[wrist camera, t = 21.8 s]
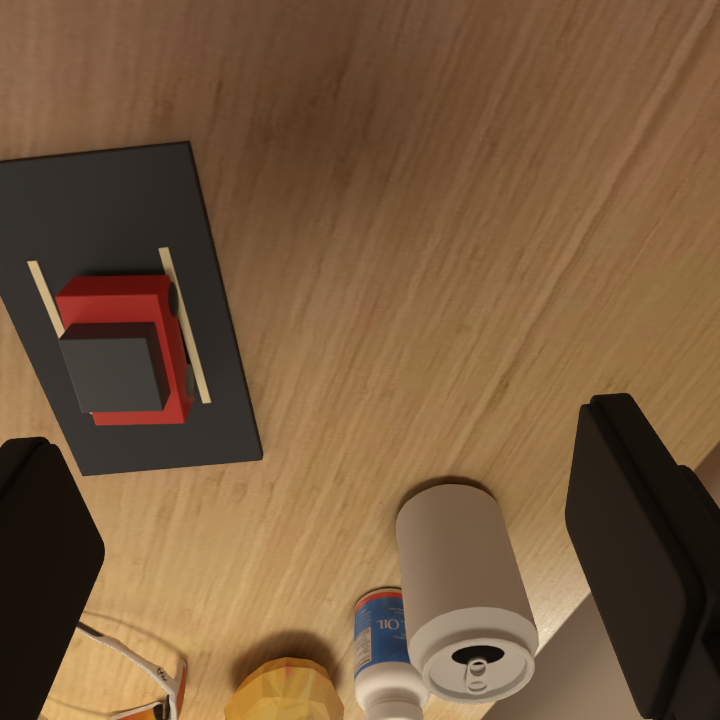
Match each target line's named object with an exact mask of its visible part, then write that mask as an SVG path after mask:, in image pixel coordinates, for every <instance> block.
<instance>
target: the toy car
mask: <svg viewBox="0 0 720 720" xmlns="http://www.w3.org/2000/svg"><path fill="white" fill-rule="evenodd" d="M55 299H56V302H57V305H58V308H59V311H60V314H61V318H62V321H63V324H64V327H65V330H66V331H65V332H64V333H63V334H62V336H61V337H60V338H59V340H58V341H59V344H60V347H61V350H62V353H63V356H64V359H65V362H66V365H67V368H68V371H69V374H70V377H71V380H72V383H73V387H74V390H75V393H76V396H77V399H78V402H79V405H80V408H81V411H82V413H92V415H93V418H94V421H95V424H96V425H132V424H177V423H185V421H186V418H187V416H188V413H189V410H190V408H191V405H192V402H193V400H194V396H193V390H194V373H193V369H192V366H191V365H190V364H187V362H186V357H185V352H184V347H183V342H182V337H181V332H180V327H179V322H178V317H177V313H178V306H179V300H178V292H177V288H176V285H175V284H174V282H172V281H170V277H169V275H136V276H86V277H73V278H72V279H71V280H70V281H69V282H68V283H67V284H66V285H65V287H64V288H63V289H62V290H61V291H60V292H59V293H58V294H57V295H56V296H55Z"/></svg>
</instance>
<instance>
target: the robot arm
mask: <svg viewBox="0 0 720 720" xmlns="http://www.w3.org/2000/svg"><path fill="white" fill-rule="evenodd" d="M565 521H566V527H567V530H568V533H569V536H570V538H571V541H572V543H573V546H574V549H575V551H576V554H577V556H578V559H579V561H580V564H581V566H582V569H583V572H584V574H585V577H586V579H587V582H588V584H589V587H590V589H591V592H592V595H593V597H594V600H595V602H596V605H597V607H598V610H599V612H600V615H601V617H602V620H603V623H604V625H605V628H606V630H607V633H608V635H609V638H610V641H611V643H612V646H613V648H614V651H615V653H616V656H617V658H618V661H619V664H620V666H621V669H622V671H623V674H624V676H625V679H626V681H627V684H628V686H629V689H630V692H631V694H632V697H633V699H634V702H635V704H636V707H637V709H638V711H639V713H640V715H641V716H642V717H643V718H644V719H653V720H720V509H719V507H718V506H717V504H716V503H715V502H714V500H713V499H712V497H711V496H710V494H709V493H708V491H707V490H706V489H705V487H704V486H703V484H702V483H701V481H700V480H699V478H698V477H697V476H696V474H695V473H694V472H693V471H692V470H691V469H690V468H689V467H687V466H685V465H677V464H676V462H675V461H674V459H673V458H672V456H671V455H670V453H669V452H668V450H667V449H666V447H665V446H664V444H663V443H662V441H661V440H660V438H659V437H658V435H657V434H656V432H655V431H654V429H653V428H652V426H651V425H650V423H649V422H648V420H647V419H646V417H645V416H644V414H643V413H642V411H641V410H640V408H639V407H638V405H637V404H636V402H635V401H634V399H633V398H632V397H631V395H630V394H628V393H618V394H604V395H595V396H593V397H592V398H591V400H590V404H583V405H582V406H581V408H580V412H579V419H578V426H577V433H576V439H575V446H574V453H573V460H572V466H571V473H570V480H569V487H568V493H567V500H566V507H565ZM104 556H105V547H104V543H103V540H102V538H101V536H100V534H99V532H98V530H97V527H96V525H95V523H94V521H93V519H92V517H91V515H90V513H89V510H88V508H87V506H86V504H85V502H84V500H83V498H82V496H81V493H80V491H79V489H78V487H77V485H76V483H75V481H74V479H73V476H72V474H71V472H70V470H69V468H68V466H67V464H66V462H65V459H64V457H63V455H62V453H61V451H60V449H59V448H58V446H57V445H55V444H50V442H49V441H48V440H47V439H46V438H45V437H29V438H16V439H10V440H7V441H6V442H5V443H4V444H3V445H2V446H1V447H0V720H38V717H39V715H40V712H41V710H42V708H43V705H44V703H45V700H46V698H47V696H48V693H49V691H50V689H51V686H52V684H53V681H54V679H55V677H56V674H57V672H58V669H59V667H60V665H61V662H62V660H63V657H64V655H65V653H66V650H67V648H68V646H69V643H70V641H71V638H72V636H73V634H74V631H75V629H76V626H77V624H78V622H79V619H80V617H81V614H82V612H83V610H84V607H85V605H86V602H87V600H88V598H89V595H90V593H91V591H92V588H93V586H94V583H95V581H96V579H97V576H98V574H99V571H100V569H101V567H102V564H103V561H104Z"/></svg>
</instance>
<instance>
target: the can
mask: <svg viewBox="0 0 720 720" xmlns="http://www.w3.org/2000/svg"><path fill="white" fill-rule="evenodd" d="M396 536H397V547H398V557H399V567H400V577H401V587H402V597H403V608H404V618H405V628H406V638H407V648H408V654H409V658H410V662H411V664H412V665H413V666H414V667H415V668H416V669H417V670H418V671H419V673H421V675H422V679H423V683H424V686H425V687H426V688H427V689H428V690H429V691H430V692H431V693H432V694H434V695H436V696H437V697H439V698H441V699H443V700H446V701H450V702H454V703H458V704H482V703H489V702H494V701H497V700H500V699H503V698H506V697H508V696H510V695H512V694H513V693H516V692H518V691H519V690H520V689H521V688H523V687H524V686H525V685H526V684H527V683H528V682H529V681H530V679H531V677H532V675H533V673H534V671H535V666H534V658H533V657H534V655H535V653H536V650H537V648H538V646H539V640H538V631H537V628H536V625H535V621H534V618H533V615H532V611H531V608H530V605H529V602H528V598H527V595H526V592H525V588H524V585H523V582H522V579H521V575H520V572H519V569H518V565H517V562H516V559H515V556H514V552H513V549H512V546H511V542H510V539H509V536H508V533H507V529H506V526H505V523H504V519H503V516H502V513H501V510H500V508H499V506H498V505H497V503H496V501H495V500H494V498H492V497H491V496H489V495H488V494H487V493H485V492H484V491H483V490H480V489H477V488H474V487H471V486H468V485H458V484H444V485H438V486H434V487H431V488H429V489H427V490H424V491H422V492H420V493H418V494H417V495H415V496H414V497H413V498H411V499H410V500H409V501H407V502H406V503H405V505H404V506H403V508H402V509H401V510H400V512H399V513H398V516H397V521H396Z"/></svg>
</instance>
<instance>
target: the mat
mask: <svg viewBox="0 0 720 720" xmlns="http://www.w3.org/2000/svg"><path fill="white" fill-rule="evenodd" d="M136 275H169V277H170V281H172V282H174V284H175V285H176V288H177V292H178V300H179V306H178V313H177V317H178V322H179V327H180V332H181V337H182V342H183V347H184V352H185V357H186V362H187V364H190V365H191V366H192V369H193V373H194V390H193V396H194V400H193V402H192V405H191V408H190V410H189V413H188V416H187V418H186V421H185V423H177V424H132V425H96V424H95V421H94V418H93V415H92V413H82V411H81V408H80V405H79V402H78V399H77V396H76V393H75V390H74V387H73V383H72V380H71V377H70V374H69V371H68V368H67V365H66V362H65V359H64V356H63V353H62V350H61V347H60V344H59V341H58V340H59V338H60V337H61V336H62V334H63V333H64V332H65V331H66V330H65V327H64V324H63V321H62V318H61V314H60V311H59V308H58V305H57V302H56V299H55V296H56V295H57V294H58V293H59V292H60V291H61V290H62V289H63V288H64V287H65V285H66V284H67V283H68V282H69V281H70V280H71V279H72V278H73V277H86V276H136ZM0 296H1V298H2V300H3V302H4V304H5V307H6V309H7V311H8V313H9V315H10V318H11V320H12V322H13V324H14V326H15V329H16V331H17V333H18V335H19V337H20V340H21V342H22V344H23V346H24V348H25V351H26V353H27V355H28V357H29V359H30V362H31V364H32V366H33V368H34V370H35V373H36V375H37V377H38V379H39V381H40V384H41V386H42V388H43V390H44V392H45V395H46V397H47V399H48V401H49V403H50V406H51V408H52V410H53V412H54V414H55V417H56V419H57V421H58V423H59V425H60V428H61V430H62V432H63V434H64V436H65V439H66V441H67V443H68V445H69V447H70V450H71V452H72V454H73V456H74V458H75V461H76V463H77V465H78V467H79V469H80V472H81V474H82V476H91V475H102V474H113V473H125V472H136V471H147V470H158V469H169V468H180V467H191V466H203V465H214V464H225V463H236V462H247V461H258V460H262V459H263V451H262V447H261V442H260V438H259V434H258V430H257V425H256V421H255V417H254V413H253V408H252V404H251V400H250V396H249V391H248V387H247V383H246V379H245V374H244V370H243V366H242V362H241V358H240V353H239V349H238V345H237V341H236V336H235V332H234V328H233V324H232V319H231V315H230V311H229V307H228V302H227V298H226V294H225V290H224V285H223V281H222V277H221V273H220V268H219V264H218V260H217V256H216V251H215V247H214V243H213V239H212V234H211V230H210V226H209V222H208V217H207V213H206V209H205V205H204V200H203V196H202V192H201V188H200V183H199V179H198V175H197V171H196V166H195V162H194V158H193V154H192V150H191V145H190V142H189V141H185V142H176V143H166V144H157V145H147V146H138V147H128V148H119V149H109V150H100V151H90V152H81V153H72V154H62V155H53V156H43V157H34V158H24V159H15V160H5V161H0Z"/></svg>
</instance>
